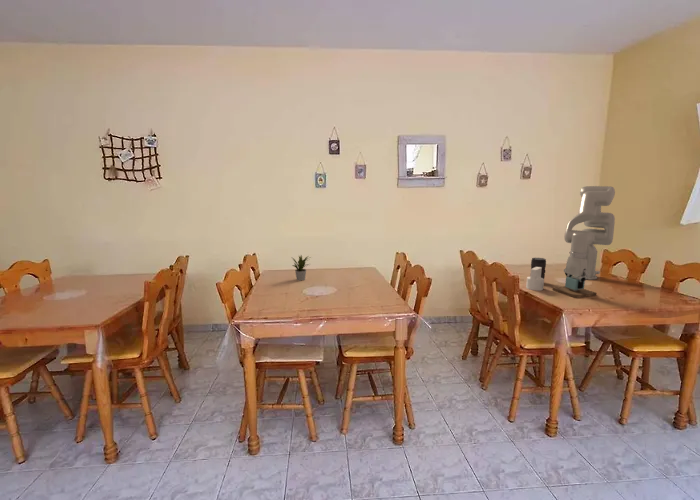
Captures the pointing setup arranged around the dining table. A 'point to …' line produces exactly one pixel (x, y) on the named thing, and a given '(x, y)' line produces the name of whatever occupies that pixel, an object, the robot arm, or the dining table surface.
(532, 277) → the light grey stepped block
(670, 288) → the dining table surface
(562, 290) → the shaft block
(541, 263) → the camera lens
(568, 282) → the teal tissue box
